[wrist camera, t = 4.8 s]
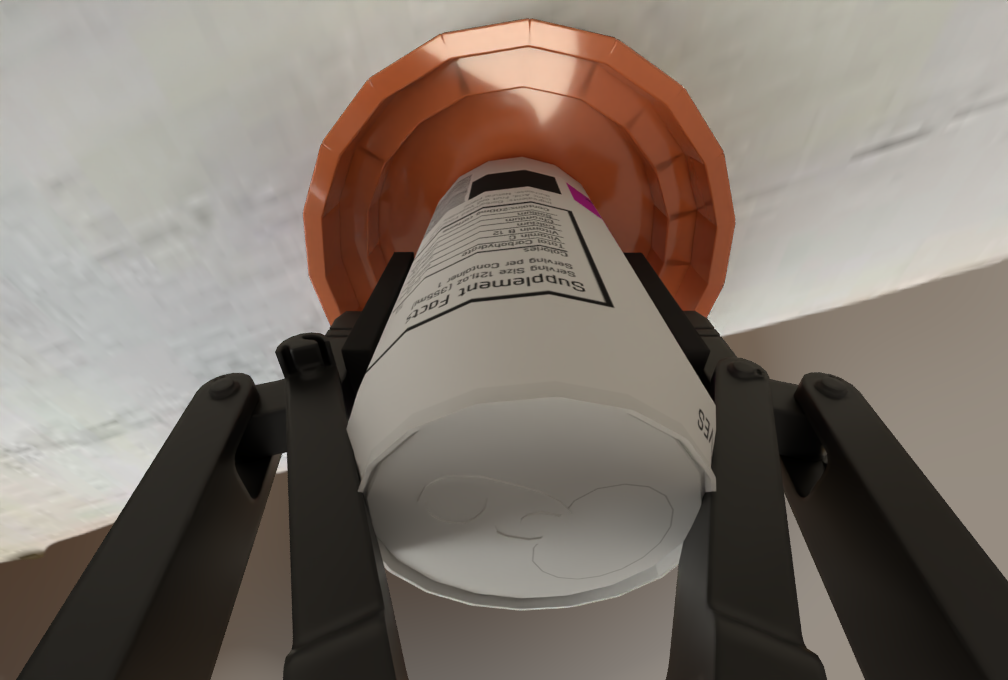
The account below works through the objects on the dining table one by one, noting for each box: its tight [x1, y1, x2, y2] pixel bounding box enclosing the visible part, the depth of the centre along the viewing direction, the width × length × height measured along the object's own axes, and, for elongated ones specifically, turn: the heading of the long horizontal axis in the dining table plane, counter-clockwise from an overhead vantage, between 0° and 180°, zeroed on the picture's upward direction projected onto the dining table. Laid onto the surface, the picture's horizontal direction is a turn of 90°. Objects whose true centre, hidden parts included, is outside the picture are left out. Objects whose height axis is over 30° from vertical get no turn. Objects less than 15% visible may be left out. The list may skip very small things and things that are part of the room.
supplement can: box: [346, 157, 716, 610], centre depth 14 cm, size 8×8×15 cm
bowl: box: [303, 18, 735, 326], centre depth 19 cm, size 17×17×4 cm
